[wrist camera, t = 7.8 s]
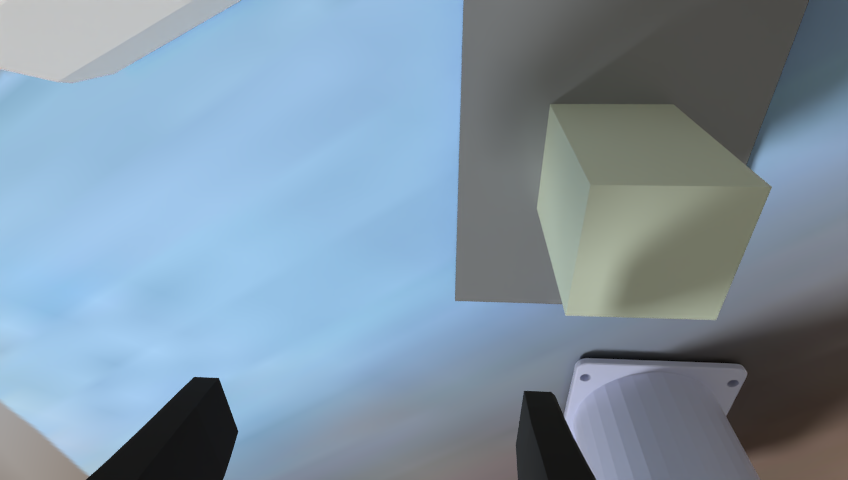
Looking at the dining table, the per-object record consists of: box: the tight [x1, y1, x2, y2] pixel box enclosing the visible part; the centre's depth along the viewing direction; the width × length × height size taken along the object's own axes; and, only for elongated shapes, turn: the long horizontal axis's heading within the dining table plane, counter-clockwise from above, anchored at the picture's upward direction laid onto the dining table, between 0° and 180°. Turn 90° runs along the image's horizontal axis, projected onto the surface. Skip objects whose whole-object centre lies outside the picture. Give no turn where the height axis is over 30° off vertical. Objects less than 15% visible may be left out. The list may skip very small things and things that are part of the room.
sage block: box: [537, 104, 772, 320], centre depth 15 cm, size 4×4×6 cm
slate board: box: [455, 0, 809, 304], centre depth 17 cm, size 14×10×1 cm
